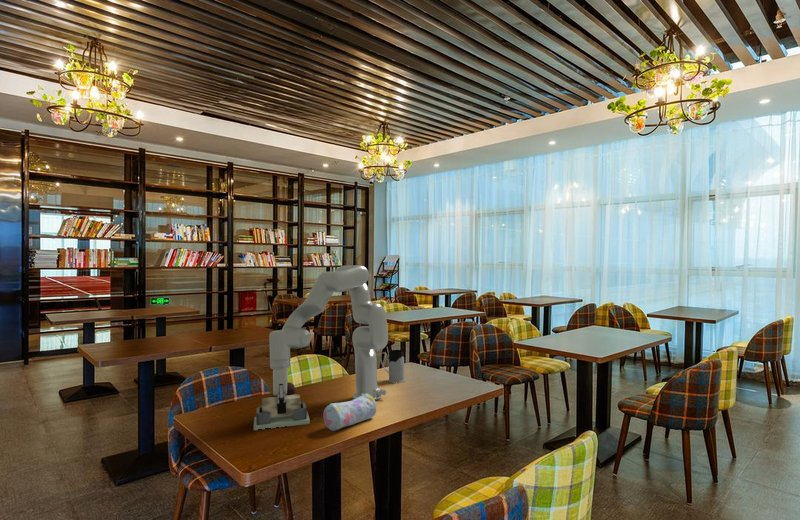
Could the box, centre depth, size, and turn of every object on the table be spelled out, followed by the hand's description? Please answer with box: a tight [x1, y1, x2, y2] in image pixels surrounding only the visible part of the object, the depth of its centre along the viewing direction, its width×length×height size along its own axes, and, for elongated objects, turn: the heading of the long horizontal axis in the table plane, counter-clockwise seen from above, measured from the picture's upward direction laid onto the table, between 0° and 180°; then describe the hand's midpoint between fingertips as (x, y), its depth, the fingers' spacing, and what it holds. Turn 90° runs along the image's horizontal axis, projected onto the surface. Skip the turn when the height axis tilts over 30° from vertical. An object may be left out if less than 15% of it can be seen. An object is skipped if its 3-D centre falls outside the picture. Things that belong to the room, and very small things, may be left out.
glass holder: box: [379, 349, 406, 384], centre depth 235 cm, size 9×14×15 cm, turn 57°
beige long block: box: [261, 393, 302, 417], centre depth 175 cm, size 14×5×6 cm, turn 107°
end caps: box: [255, 401, 308, 425], centre depth 175 cm, size 18×9×4 cm, turn 106°
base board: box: [253, 411, 311, 431], centre depth 175 cm, size 20×11×2 cm, turn 106°
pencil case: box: [322, 393, 377, 432], centre depth 171 cm, size 21×9×10 cm, turn 139°
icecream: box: [285, 381, 296, 396], centre depth 209 cm, size 7×7×15 cm
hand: (281, 410), depth 175 cm, fingers closed on beige long block, 4 cm apart
